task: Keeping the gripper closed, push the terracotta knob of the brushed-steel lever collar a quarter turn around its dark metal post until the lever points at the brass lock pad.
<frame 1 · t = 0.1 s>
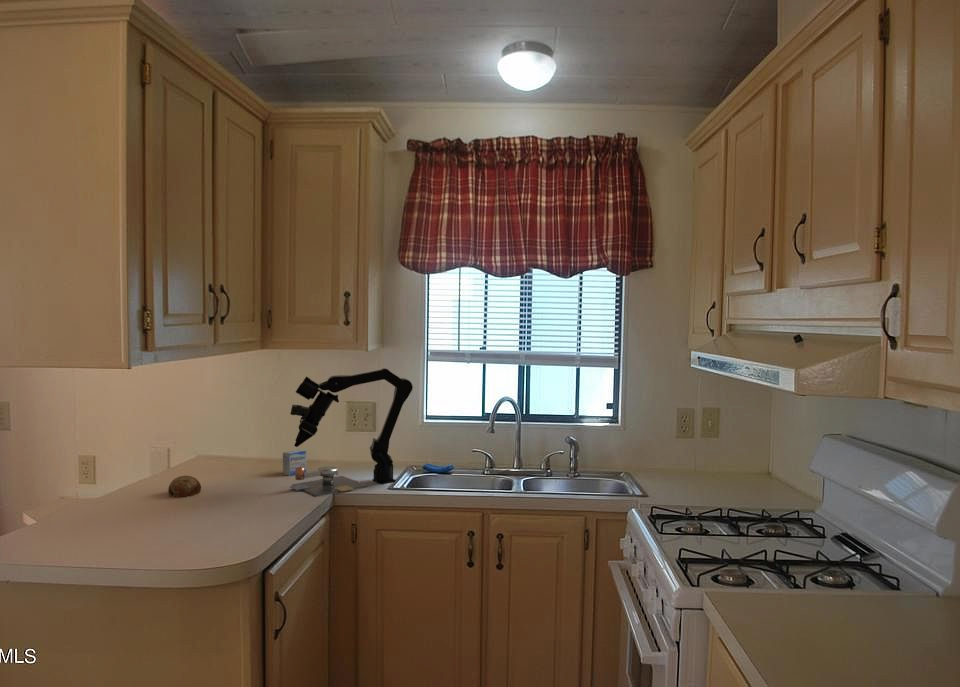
hand: (296, 443, 221), 15 cm above the countertop, tool tilted 30°, fingers open, 9 cm apart
post base: (329, 486, 220), on the countertop
bread roll: (185, 494, 209), on the countertop
collar lever: (316, 470, 220), point 6 cm above the countertop, hinge at 0.0°
medicine box: (294, 474, 239), on the countertop
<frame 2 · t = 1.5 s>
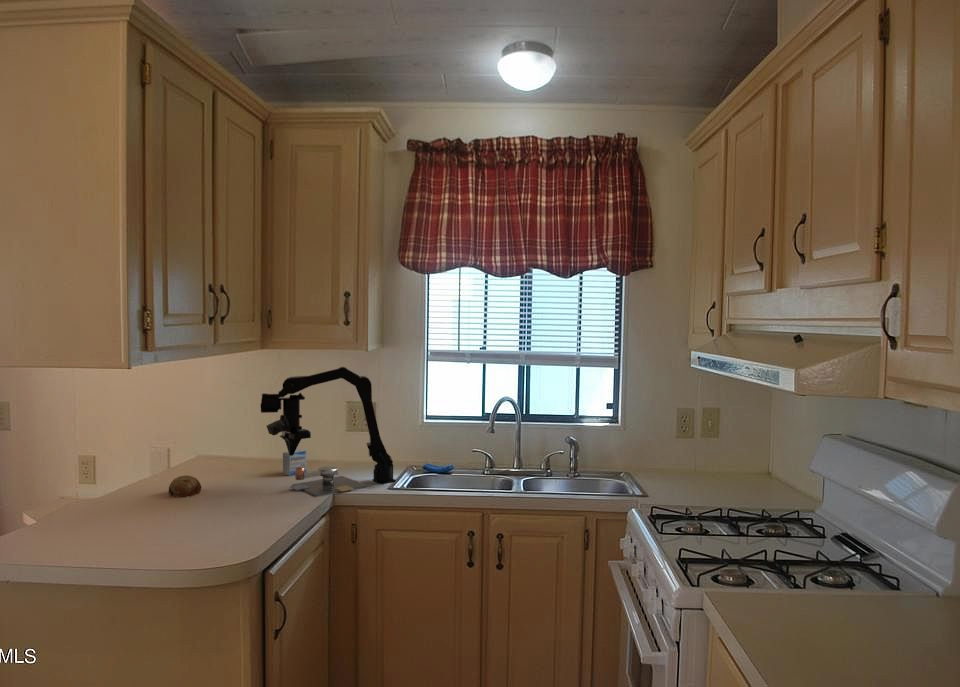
hand: (291, 455, 221), 11 cm above the countertop, tool pointing down, fingers closed
nothing on the countertop moved.
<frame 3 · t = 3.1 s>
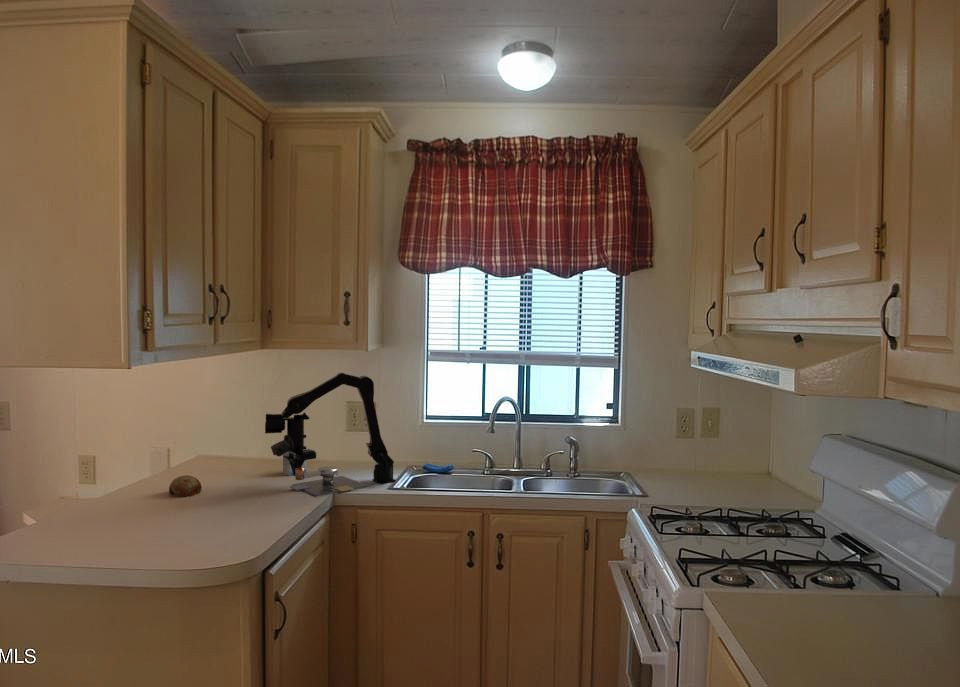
hand: (295, 475, 218), 4 cm above the countertop, tool pointing down, fingers closed
collar lever: (316, 470, 220), point 6 cm above the countertop, hinge at 0.1°, touching gripper
everything else where it was.
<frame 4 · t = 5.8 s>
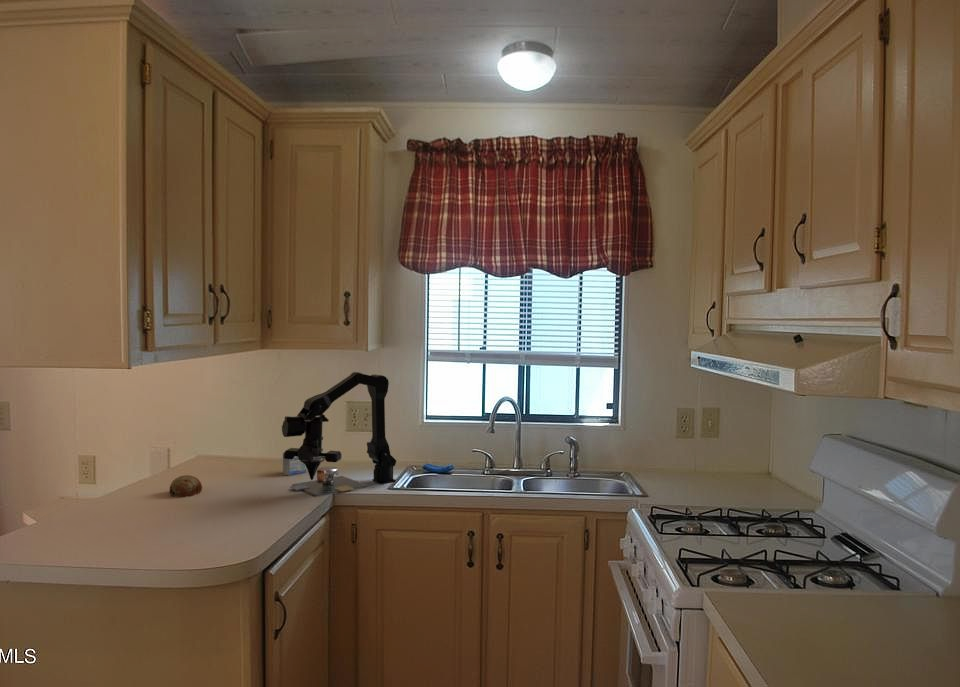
hand: (311, 479, 212), 4 cm above the countertop, tool pointing down, fingers closed
collar lever: (325, 471, 219), point 6 cm above the countertop, hinge at 49.9°, touching gripper
everything else where it was.
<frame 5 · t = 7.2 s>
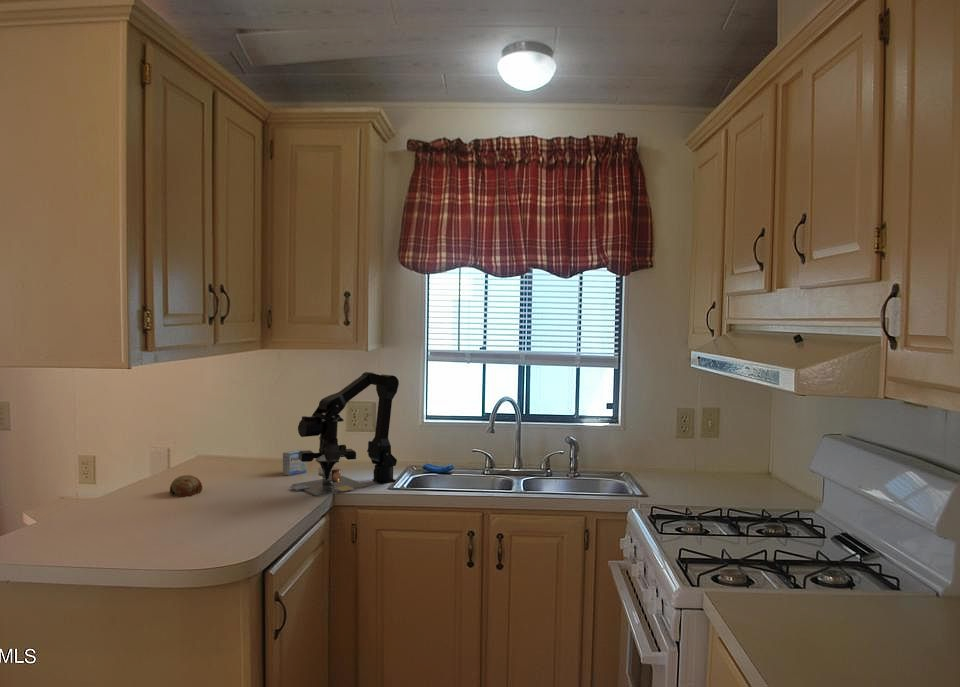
hand: (326, 480, 212), 4 cm above the countertop, tool pointing down, fingers closed
collar lever: (331, 471, 219), point 6 cm above the countertop, hinge at 75.3°, touching gripper
everything else where it was.
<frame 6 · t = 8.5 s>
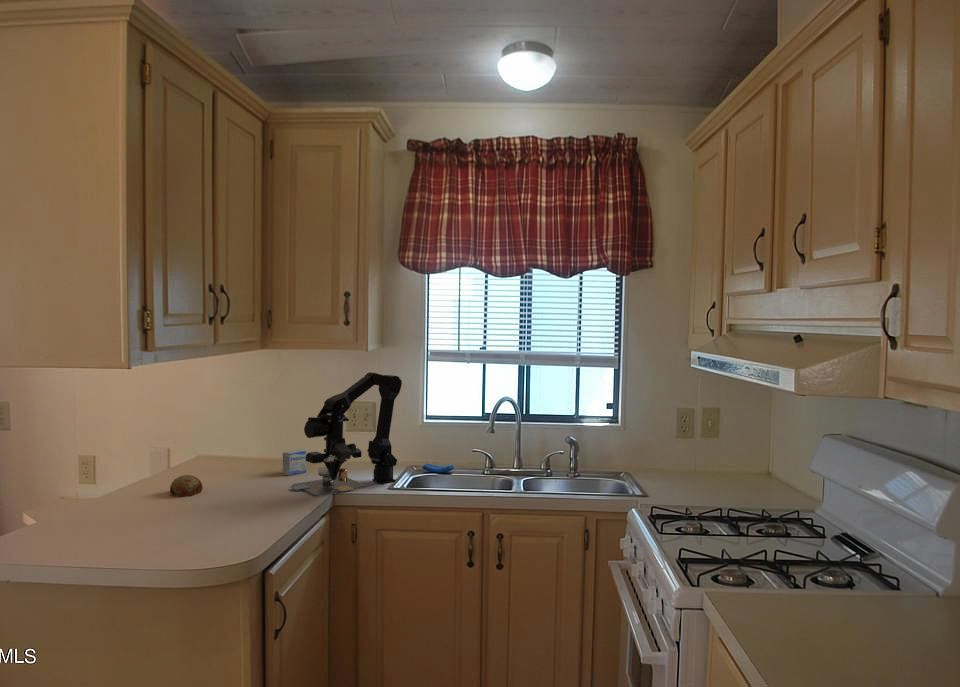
hand: (333, 479, 212), 4 cm above the countertop, tool pointing down, fingers closed
collar lever: (334, 471, 220), point 6 cm above the countertop, hinge at 88.5°
everything else where it was.
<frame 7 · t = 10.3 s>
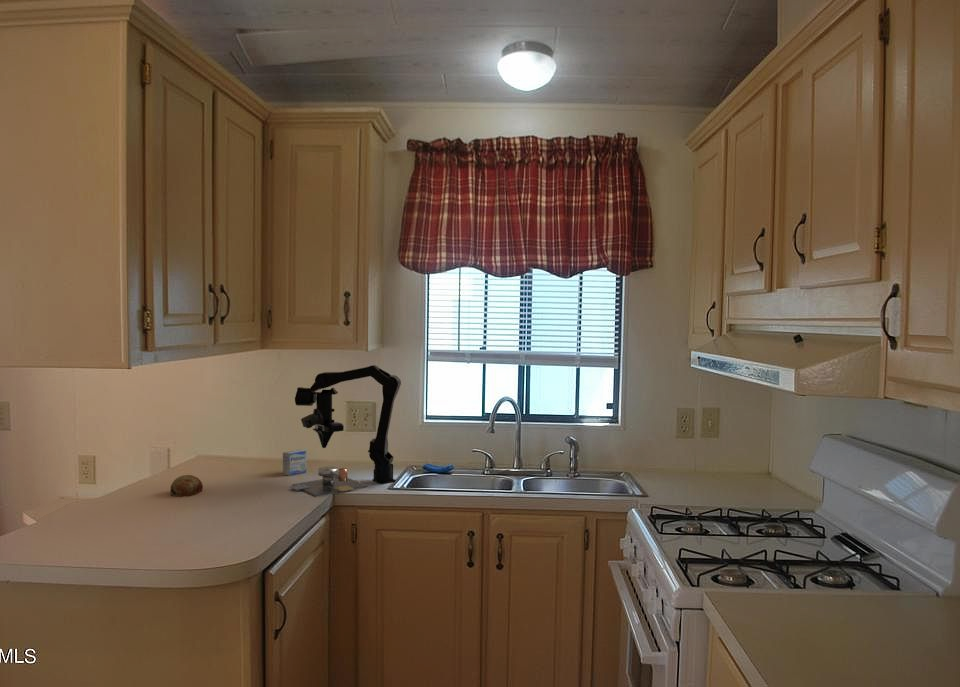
hand: (323, 447, 229), 12 cm above the countertop, tool pointing down, fingers closed
nothing on the countertop moved.
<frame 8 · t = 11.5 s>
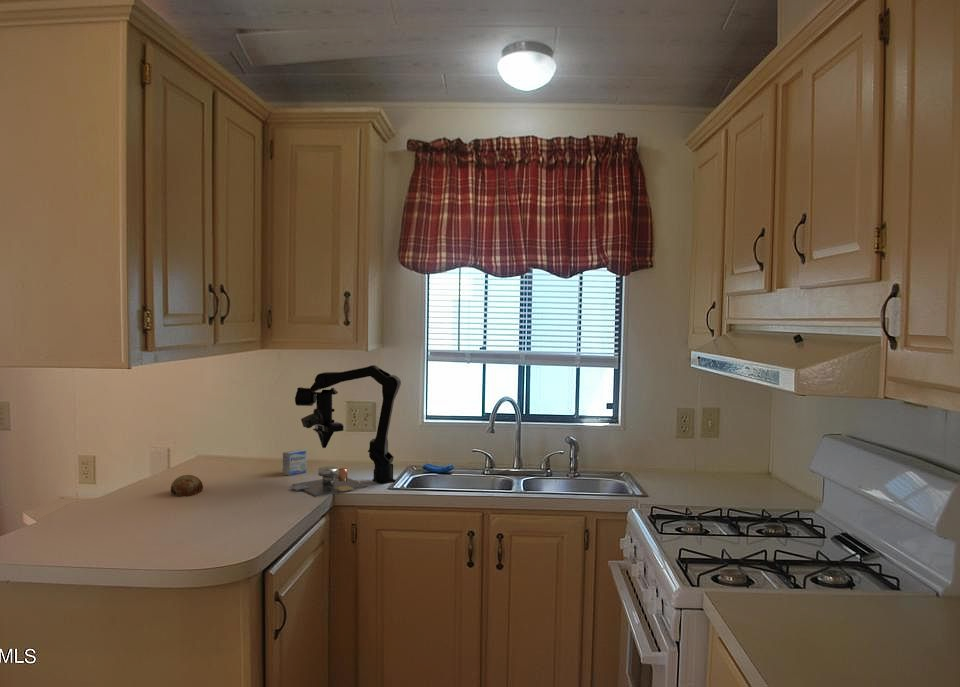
hand: (324, 447, 229), 12 cm above the countertop, tool pointing down, fingers closed
nothing on the countertop moved.
at the end: collar lever at +88° (first picture: +0°) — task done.
